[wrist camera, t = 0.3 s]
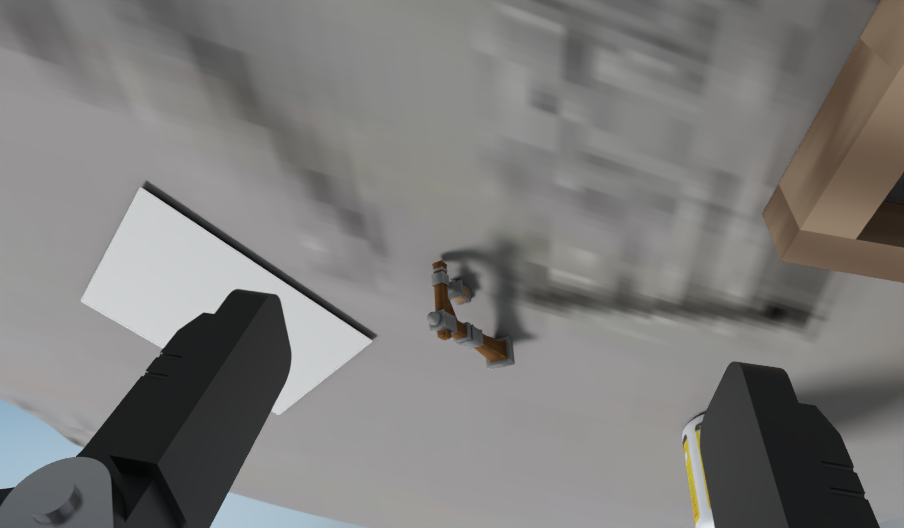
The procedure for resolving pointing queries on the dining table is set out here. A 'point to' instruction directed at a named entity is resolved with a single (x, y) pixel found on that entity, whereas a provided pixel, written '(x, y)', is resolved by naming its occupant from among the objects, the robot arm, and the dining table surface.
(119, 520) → the robot arm
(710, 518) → the supplement bottle
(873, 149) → the socket board
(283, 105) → the dining table surface
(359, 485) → the dining table surface
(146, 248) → the paper stack
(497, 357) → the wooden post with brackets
